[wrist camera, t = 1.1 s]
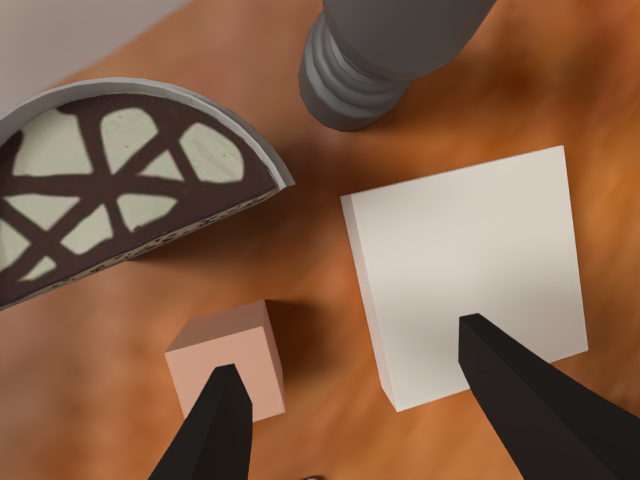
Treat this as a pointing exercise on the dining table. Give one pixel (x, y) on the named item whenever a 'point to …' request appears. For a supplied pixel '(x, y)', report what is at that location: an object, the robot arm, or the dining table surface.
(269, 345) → the cube
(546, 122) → the dining table surface
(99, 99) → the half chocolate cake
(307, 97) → the candle holder
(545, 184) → the base
